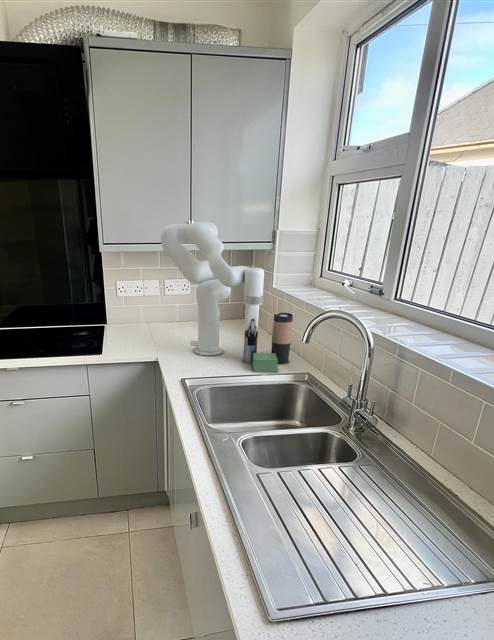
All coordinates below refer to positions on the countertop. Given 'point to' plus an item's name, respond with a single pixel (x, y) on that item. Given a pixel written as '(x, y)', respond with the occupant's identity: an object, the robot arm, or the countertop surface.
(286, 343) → the travel mug
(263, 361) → the green block
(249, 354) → the steel flask
